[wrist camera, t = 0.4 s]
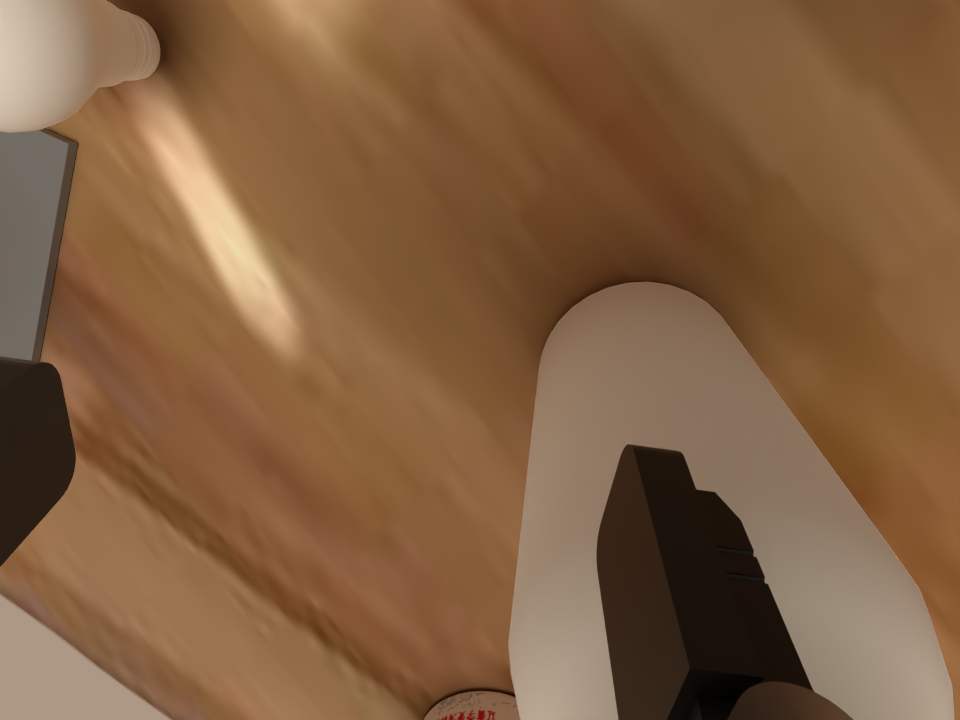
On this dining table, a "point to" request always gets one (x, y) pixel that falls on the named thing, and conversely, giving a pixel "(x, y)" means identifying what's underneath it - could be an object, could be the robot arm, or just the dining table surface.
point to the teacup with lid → (476, 707)
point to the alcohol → (714, 467)
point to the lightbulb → (66, 57)
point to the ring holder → (30, 233)
